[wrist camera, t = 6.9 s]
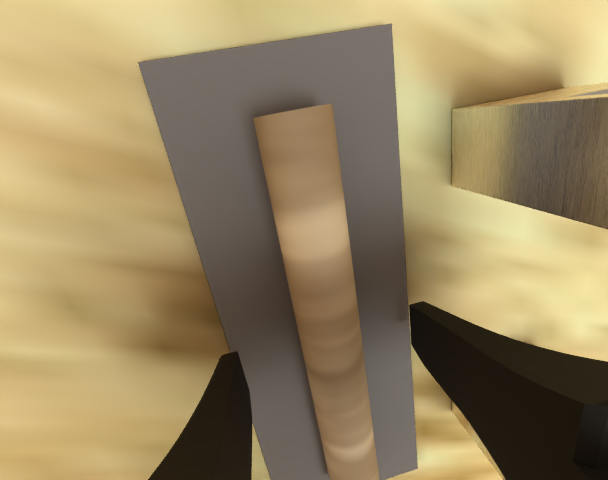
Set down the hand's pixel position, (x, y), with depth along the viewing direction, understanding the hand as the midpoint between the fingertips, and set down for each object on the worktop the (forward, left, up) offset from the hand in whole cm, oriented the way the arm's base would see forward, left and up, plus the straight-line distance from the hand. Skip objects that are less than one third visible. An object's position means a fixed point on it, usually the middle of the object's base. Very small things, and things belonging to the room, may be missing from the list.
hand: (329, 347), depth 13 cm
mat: (0, 0, -2) cm, 2 cm away
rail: (0, 0, 0) cm, 0 cm away
